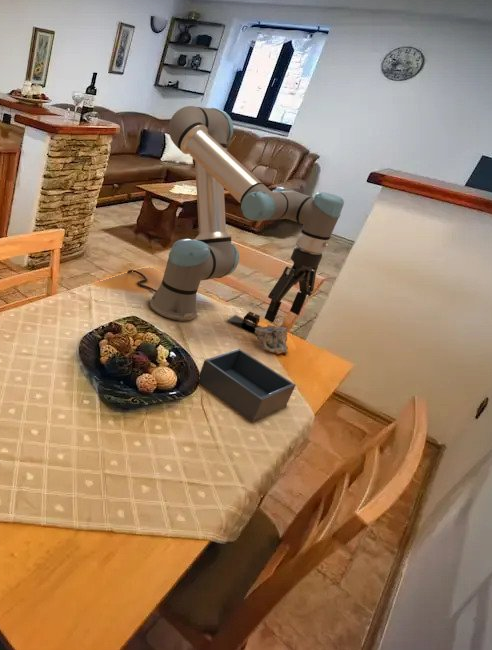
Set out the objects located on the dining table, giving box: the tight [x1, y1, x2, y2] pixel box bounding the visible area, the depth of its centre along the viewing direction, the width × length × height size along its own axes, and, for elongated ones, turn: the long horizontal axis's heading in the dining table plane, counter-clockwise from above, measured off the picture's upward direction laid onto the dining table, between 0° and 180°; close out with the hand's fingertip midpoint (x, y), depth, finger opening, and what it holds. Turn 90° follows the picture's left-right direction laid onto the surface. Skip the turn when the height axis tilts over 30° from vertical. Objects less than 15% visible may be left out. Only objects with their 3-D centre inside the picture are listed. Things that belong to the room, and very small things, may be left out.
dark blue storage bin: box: [198, 348, 296, 423], centre depth 128 cm, size 18×15×7 cm
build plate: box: [227, 311, 262, 337], centre depth 164 cm, size 12×7×5 cm, turn 51°
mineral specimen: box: [254, 324, 289, 356], centre depth 153 cm, size 10×8×10 cm
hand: (281, 316), depth 149 cm, fingers open, 13 cm apart
